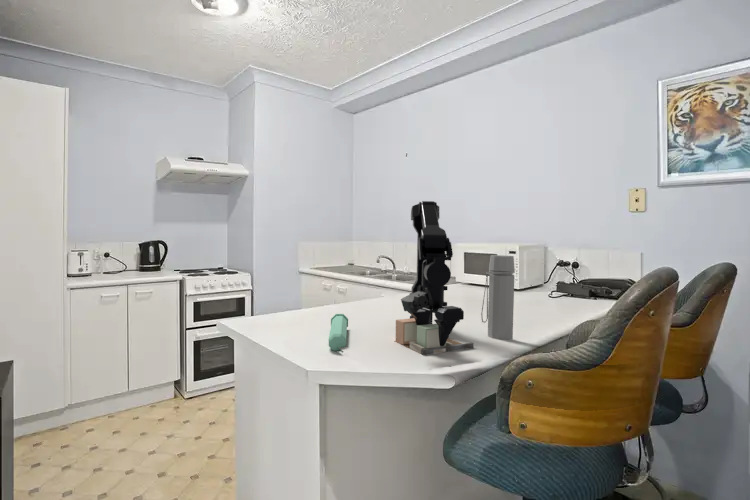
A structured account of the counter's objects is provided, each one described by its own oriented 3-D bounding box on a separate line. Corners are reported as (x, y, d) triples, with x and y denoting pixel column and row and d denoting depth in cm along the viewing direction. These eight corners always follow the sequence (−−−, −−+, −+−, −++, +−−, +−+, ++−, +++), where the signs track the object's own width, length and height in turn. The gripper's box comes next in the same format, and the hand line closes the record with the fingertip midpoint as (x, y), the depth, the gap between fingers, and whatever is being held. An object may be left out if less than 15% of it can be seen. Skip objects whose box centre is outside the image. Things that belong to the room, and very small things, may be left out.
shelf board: (441, 339, 124) (441, 330, 124) (473, 352, 111) (474, 342, 111) (393, 345, 117) (394, 335, 117) (422, 359, 104) (423, 349, 104)
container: (343, 329, 109) (344, 310, 134) (322, 338, 109) (327, 317, 134) (351, 350, 110) (351, 327, 135) (330, 358, 110) (334, 334, 135)
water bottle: (514, 338, 126) (516, 255, 125) (511, 345, 119) (513, 256, 118) (483, 335, 130) (485, 254, 129) (478, 341, 123) (480, 255, 122)
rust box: (395, 341, 116) (395, 319, 116) (415, 339, 119) (415, 318, 119) (403, 344, 113) (403, 322, 113) (423, 342, 116) (423, 320, 116)
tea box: (416, 348, 110) (416, 325, 110) (437, 345, 113) (437, 323, 113) (425, 352, 106) (425, 328, 106) (446, 349, 109) (446, 326, 109)
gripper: (388, 279, 113) (387, 336, 114) (427, 287, 97) (426, 354, 97) (422, 277, 118) (421, 333, 119) (465, 285, 102) (464, 349, 102)
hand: (431, 341), depth 109 cm, fingers open, 8 cm apart
